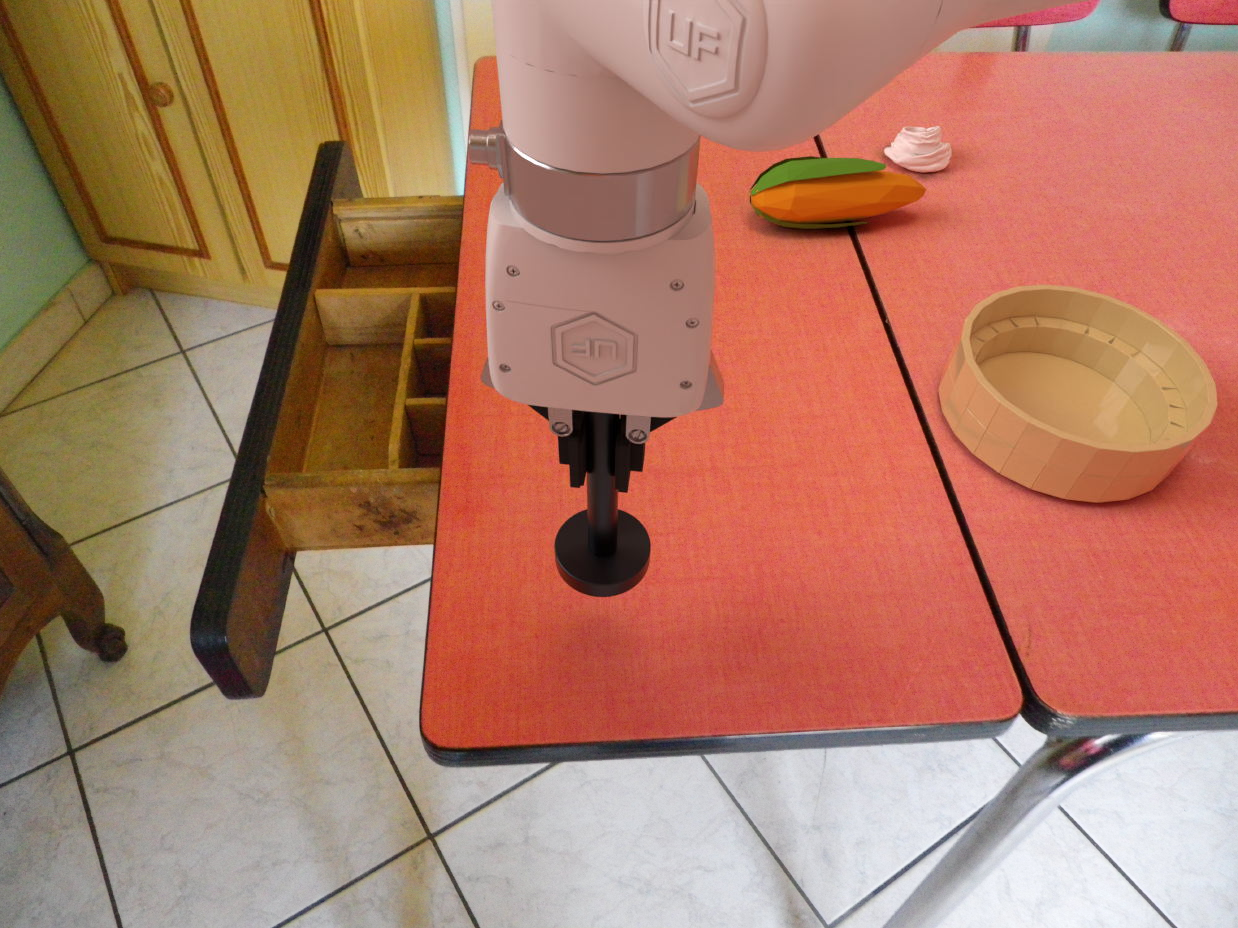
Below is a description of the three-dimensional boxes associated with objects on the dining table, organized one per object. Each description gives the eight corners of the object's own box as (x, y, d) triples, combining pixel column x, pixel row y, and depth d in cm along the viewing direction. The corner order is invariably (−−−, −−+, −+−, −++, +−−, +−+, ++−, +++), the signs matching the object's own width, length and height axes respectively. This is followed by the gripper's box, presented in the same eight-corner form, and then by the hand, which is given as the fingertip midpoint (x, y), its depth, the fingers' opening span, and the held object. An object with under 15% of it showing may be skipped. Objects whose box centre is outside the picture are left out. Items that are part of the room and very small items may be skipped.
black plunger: (668, 549, 54) (684, 392, 44) (611, 614, 51) (614, 461, 41) (594, 505, 57) (592, 345, 46) (535, 564, 53) (519, 407, 43)
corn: (748, 143, 92) (924, 135, 94) (737, 202, 98) (903, 194, 100) (763, 185, 87) (948, 176, 89) (751, 244, 94) (924, 234, 96)
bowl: (1196, 404, 79) (1240, 347, 73) (1136, 547, 68) (1183, 493, 63) (985, 314, 86) (1011, 257, 81) (900, 431, 75) (924, 373, 70)
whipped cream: (889, 181, 104) (899, 147, 100) (873, 148, 107) (882, 113, 103) (953, 175, 104) (965, 140, 100) (935, 142, 108) (946, 107, 104)
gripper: (379, 205, 32) (447, 509, 46) (806, 239, 31) (743, 539, 44) (431, 109, 37) (478, 410, 50) (801, 135, 36) (745, 435, 49)
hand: (602, 469), depth 47 cm, fingers closed on black plunger
